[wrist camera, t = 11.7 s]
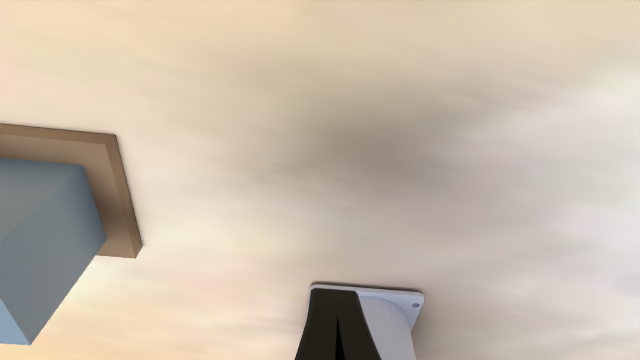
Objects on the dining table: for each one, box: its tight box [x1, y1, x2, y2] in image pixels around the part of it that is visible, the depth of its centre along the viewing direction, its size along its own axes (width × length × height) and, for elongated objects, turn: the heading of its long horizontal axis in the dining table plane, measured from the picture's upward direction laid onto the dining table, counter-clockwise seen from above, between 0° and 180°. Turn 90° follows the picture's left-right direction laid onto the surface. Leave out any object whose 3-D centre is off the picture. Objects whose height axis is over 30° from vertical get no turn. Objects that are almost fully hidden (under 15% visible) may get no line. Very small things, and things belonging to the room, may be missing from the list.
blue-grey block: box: [0, 158, 107, 345], centre depth 17 cm, size 5×5×7 cm
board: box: [0, 124, 142, 258], centre depth 20 cm, size 8×8×1 cm
